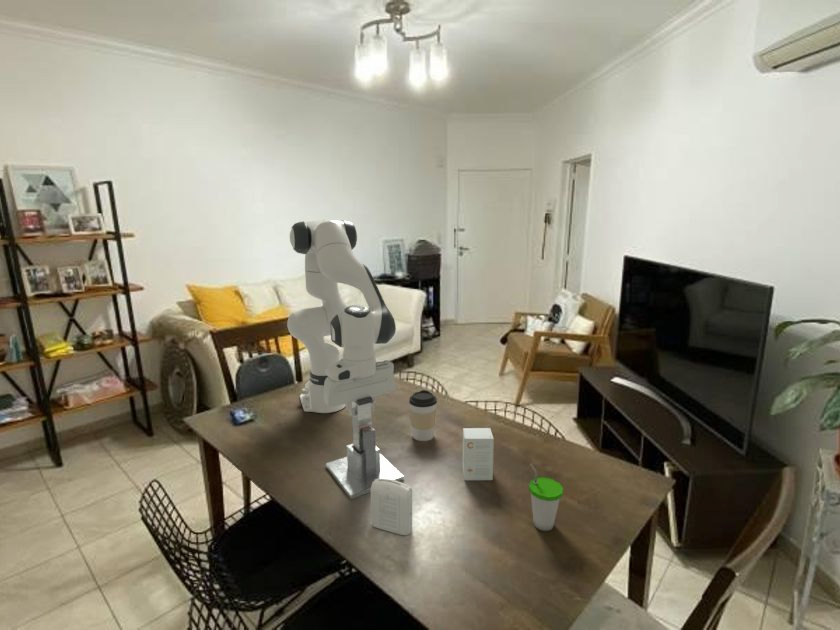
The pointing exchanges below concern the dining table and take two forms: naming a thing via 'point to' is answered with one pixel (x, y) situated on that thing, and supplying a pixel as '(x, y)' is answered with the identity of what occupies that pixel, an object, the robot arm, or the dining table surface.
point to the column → (361, 421)
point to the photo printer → (391, 506)
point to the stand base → (362, 467)
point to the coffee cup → (423, 415)
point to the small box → (478, 454)
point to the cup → (544, 501)
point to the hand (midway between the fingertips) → (361, 412)
